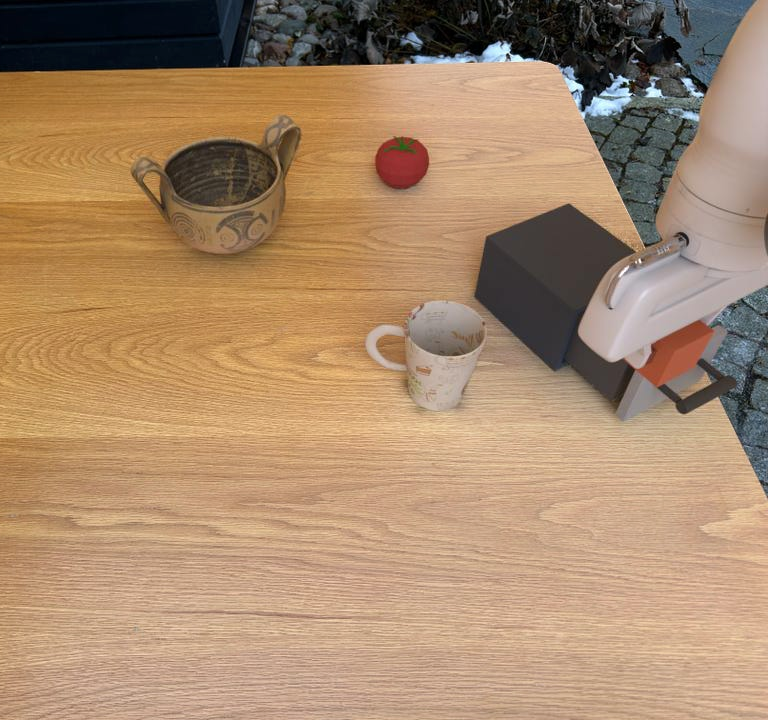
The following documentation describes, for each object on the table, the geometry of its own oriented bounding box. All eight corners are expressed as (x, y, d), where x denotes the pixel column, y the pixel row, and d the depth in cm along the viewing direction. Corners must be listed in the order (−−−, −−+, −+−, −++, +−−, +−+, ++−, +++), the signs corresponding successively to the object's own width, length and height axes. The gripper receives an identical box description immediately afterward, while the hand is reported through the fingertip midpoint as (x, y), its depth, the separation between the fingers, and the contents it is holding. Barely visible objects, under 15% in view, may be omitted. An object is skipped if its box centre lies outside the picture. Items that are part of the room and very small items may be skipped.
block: (653, 335, 67) (671, 298, 63) (694, 367, 64) (715, 330, 61) (616, 354, 65) (632, 317, 62) (656, 388, 62) (675, 351, 59)
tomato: (365, 173, 113) (367, 128, 108) (411, 162, 115) (416, 117, 109) (387, 202, 108) (391, 156, 102) (436, 190, 110) (442, 144, 104)
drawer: (733, 407, 79) (764, 358, 74) (654, 451, 76) (681, 402, 70) (609, 308, 90) (629, 258, 84) (536, 342, 87) (551, 293, 81)
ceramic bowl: (274, 184, 112) (269, 89, 101) (328, 246, 102) (328, 149, 91) (133, 228, 106) (111, 132, 95) (174, 299, 95) (155, 201, 84)
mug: (466, 427, 80) (480, 364, 73) (352, 401, 83) (355, 338, 76) (478, 372, 85) (492, 308, 78) (371, 349, 88) (375, 286, 81)
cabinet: (635, 332, 89) (662, 270, 82) (553, 371, 85) (574, 310, 78) (551, 263, 98) (569, 202, 91) (473, 297, 94) (485, 235, 87)
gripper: (656, 290, 48) (597, 422, 58) (860, 193, 54) (774, 328, 65) (586, 237, 52) (542, 370, 62) (783, 153, 58) (714, 286, 68)
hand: (662, 348), depth 63 cm, fingers closed on block, 4 cm apart
